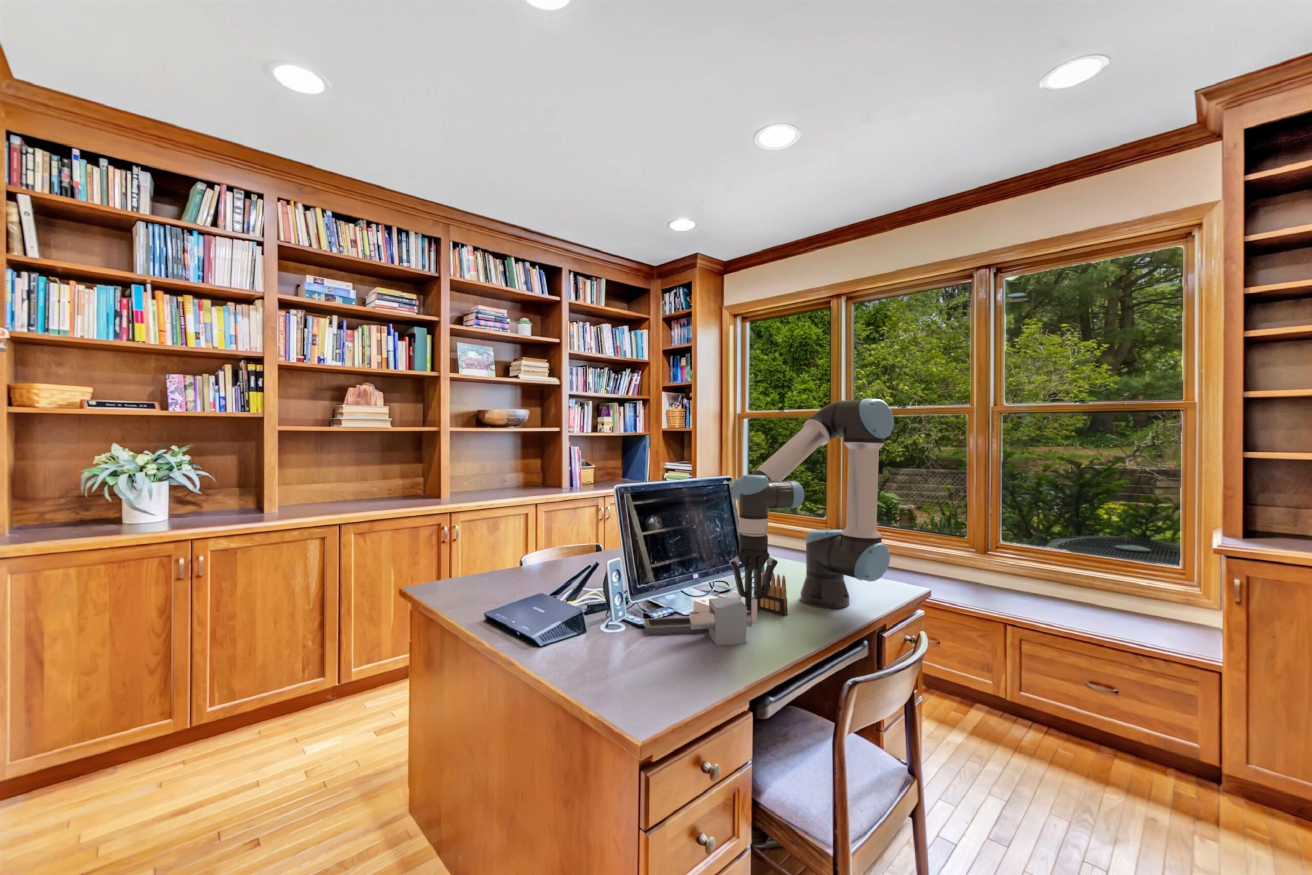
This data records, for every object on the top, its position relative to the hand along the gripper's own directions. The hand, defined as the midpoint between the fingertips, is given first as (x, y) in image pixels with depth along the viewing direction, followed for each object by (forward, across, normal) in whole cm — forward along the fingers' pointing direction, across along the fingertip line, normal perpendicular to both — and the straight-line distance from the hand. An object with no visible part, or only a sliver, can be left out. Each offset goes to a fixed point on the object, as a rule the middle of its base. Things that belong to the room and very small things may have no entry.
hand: (752, 622), depth 146 cm
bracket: (+5, +5, -20) cm, 21 cm away
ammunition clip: (+4, -12, -20) cm, 24 cm away
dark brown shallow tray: (+4, +17, -9) cm, 19 cm away
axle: (-1, +9, 0) cm, 9 cm away
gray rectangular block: (+4, +7, 0) cm, 8 cm away
